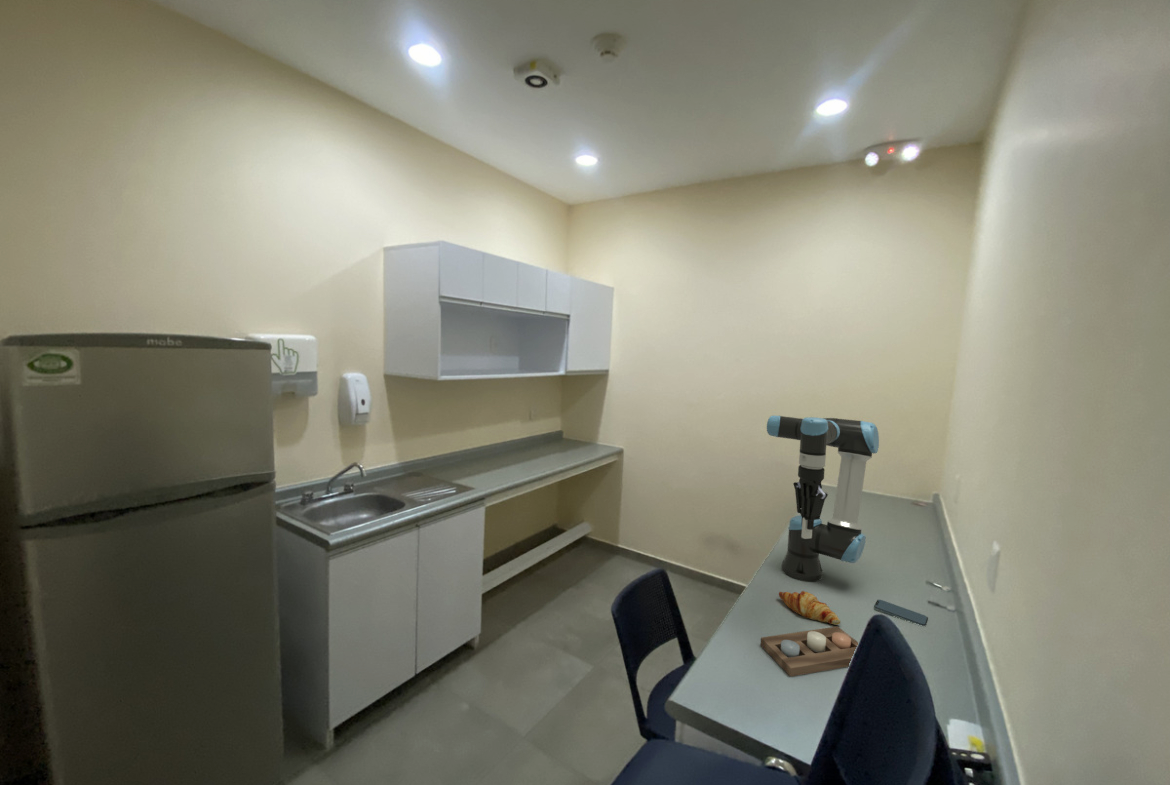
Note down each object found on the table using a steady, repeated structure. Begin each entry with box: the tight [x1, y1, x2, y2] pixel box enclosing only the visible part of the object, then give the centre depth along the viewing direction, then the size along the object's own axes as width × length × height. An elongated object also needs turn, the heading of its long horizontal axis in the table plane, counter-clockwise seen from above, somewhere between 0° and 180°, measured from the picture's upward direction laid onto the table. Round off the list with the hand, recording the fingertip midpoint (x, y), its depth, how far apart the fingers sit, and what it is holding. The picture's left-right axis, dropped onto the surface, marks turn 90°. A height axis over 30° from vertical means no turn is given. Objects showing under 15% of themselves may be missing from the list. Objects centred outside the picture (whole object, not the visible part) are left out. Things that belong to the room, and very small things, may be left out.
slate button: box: [781, 640, 800, 658], centre depth 138 cm, size 5×5×4 cm
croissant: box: [778, 590, 841, 626], centre depth 162 cm, size 21×10×8 cm, turn 41°
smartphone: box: [873, 599, 929, 627], centre depth 162 cm, size 8×2×15 cm
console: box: [760, 625, 858, 678], centre depth 140 cm, size 14×28×2 cm, turn 104°
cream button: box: [807, 631, 826, 653], centre depth 140 cm, size 5×5×4 cm
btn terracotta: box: [832, 632, 851, 649], centre depth 142 cm, size 5×5×4 cm
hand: (806, 537), depth 151 cm, fingers closed
